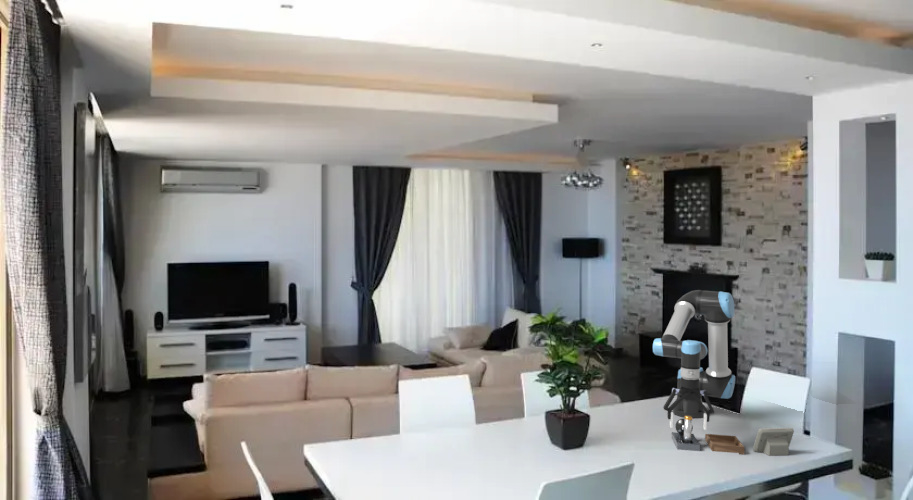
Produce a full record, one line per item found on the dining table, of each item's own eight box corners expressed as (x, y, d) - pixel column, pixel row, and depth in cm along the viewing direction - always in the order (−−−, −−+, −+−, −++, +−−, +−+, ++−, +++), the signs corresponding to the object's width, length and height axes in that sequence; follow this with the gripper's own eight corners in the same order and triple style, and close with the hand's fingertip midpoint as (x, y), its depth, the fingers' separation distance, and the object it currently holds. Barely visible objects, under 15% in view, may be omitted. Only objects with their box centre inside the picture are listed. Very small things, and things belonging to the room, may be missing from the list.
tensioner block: (671, 439, 312) (672, 416, 311) (692, 440, 310) (693, 417, 310) (677, 450, 296) (678, 426, 296) (699, 452, 295) (700, 428, 294)
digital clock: (787, 450, 301) (789, 425, 301) (797, 457, 292) (798, 431, 292) (749, 448, 301) (750, 423, 301) (757, 455, 292) (758, 430, 292)
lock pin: (682, 446, 300) (684, 415, 300) (690, 446, 300) (691, 415, 299) (683, 448, 298) (685, 417, 297) (691, 448, 297) (692, 417, 297)
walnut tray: (704, 440, 310) (705, 433, 310) (735, 443, 309) (735, 435, 308) (712, 452, 295) (712, 444, 295) (744, 454, 293) (744, 447, 293)
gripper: (660, 378, 296) (658, 428, 297) (723, 381, 292) (720, 432, 293) (658, 374, 303) (656, 423, 304) (719, 377, 299) (717, 427, 300)
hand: (687, 428), depth 298 cm, fingers open, 13 cm apart
